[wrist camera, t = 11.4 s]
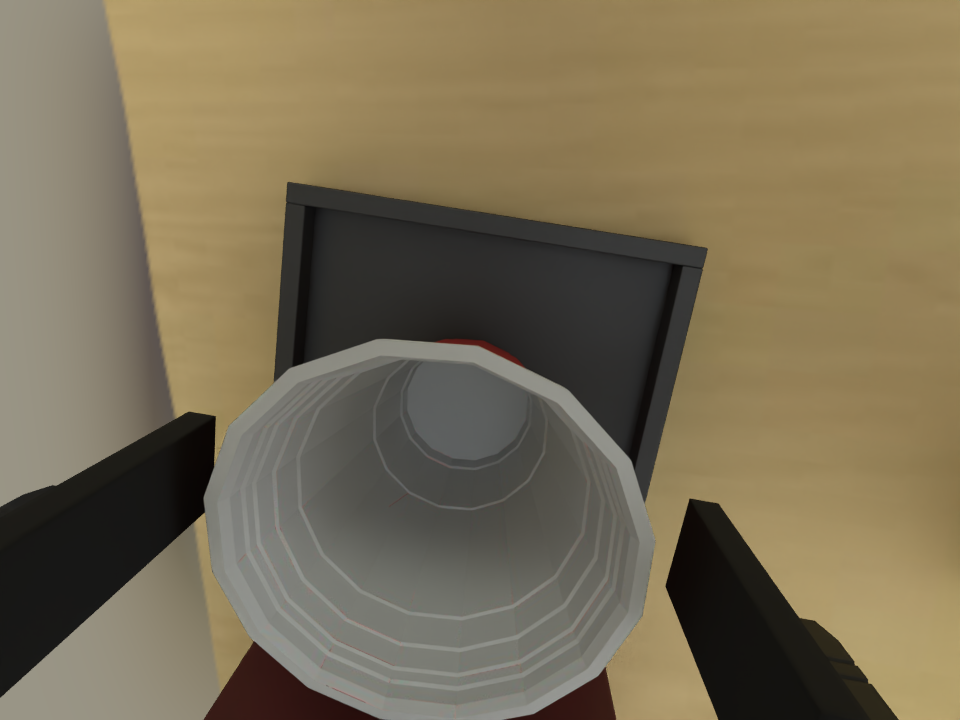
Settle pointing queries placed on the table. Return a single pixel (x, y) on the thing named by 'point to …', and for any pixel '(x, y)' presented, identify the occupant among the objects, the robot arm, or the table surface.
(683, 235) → the table surface
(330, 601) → the plastic cup
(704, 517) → the robot arm
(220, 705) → the coffee maker
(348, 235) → the drip tray
